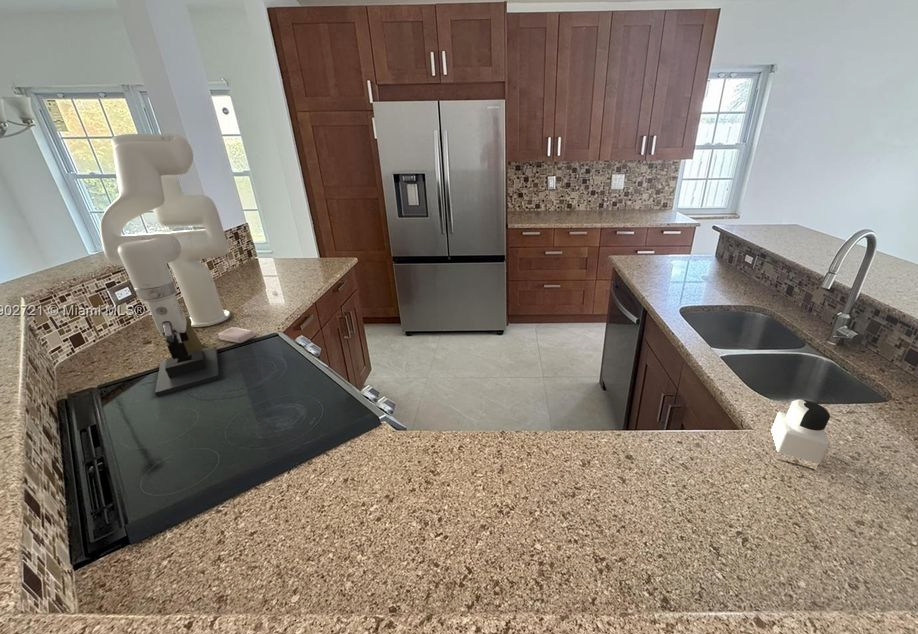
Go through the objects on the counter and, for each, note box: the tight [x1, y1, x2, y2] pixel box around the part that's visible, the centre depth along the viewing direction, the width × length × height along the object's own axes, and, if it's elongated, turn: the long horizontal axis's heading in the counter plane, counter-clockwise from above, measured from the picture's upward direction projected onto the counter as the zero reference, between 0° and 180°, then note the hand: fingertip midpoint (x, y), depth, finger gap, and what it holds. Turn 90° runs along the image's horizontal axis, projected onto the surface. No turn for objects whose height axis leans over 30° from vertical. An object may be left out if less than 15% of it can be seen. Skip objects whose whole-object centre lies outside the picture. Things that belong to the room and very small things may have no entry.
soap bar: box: [217, 326, 255, 344], centre depth 119 cm, size 5×9×2 cm, turn 73°
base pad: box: [154, 347, 221, 397], centre depth 102 cm, size 18×13×3 cm
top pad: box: [165, 349, 206, 378], centre depth 101 cm, size 6×8×3 cm
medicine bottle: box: [770, 399, 831, 465], centre depth 74 cm, size 7×7×12 cm
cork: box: [183, 314, 204, 353], centre depth 111 cm, size 6×6×11 cm
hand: (181, 348), depth 100 cm, fingers open, 9 cm apart
